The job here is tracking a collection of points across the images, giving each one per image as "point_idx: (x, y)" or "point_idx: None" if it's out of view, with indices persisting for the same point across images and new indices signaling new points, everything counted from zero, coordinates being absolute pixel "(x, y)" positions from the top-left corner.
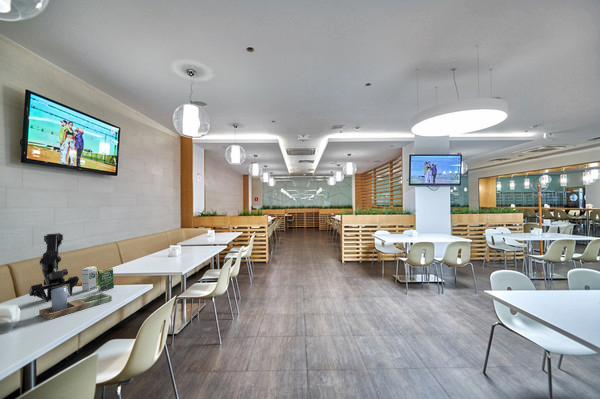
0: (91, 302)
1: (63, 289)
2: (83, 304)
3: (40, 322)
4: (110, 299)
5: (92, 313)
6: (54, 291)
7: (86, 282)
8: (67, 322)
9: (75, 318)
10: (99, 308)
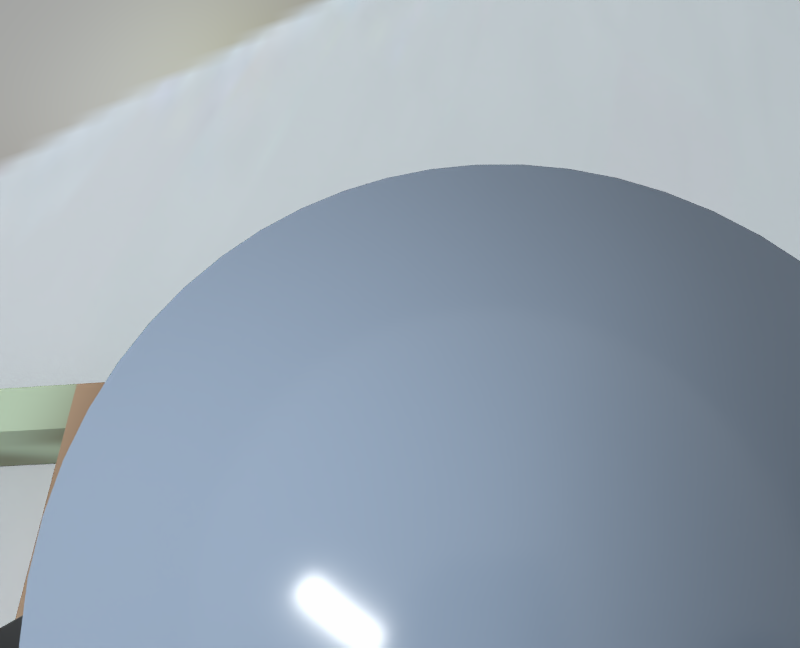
0: (24, 392)
1: (365, 211)
2: None
3: None
4: None
5: (237, 140)
6: (762, 280)
7: None
8: (508, 93)
9: (412, 139)
10: (93, 239)
